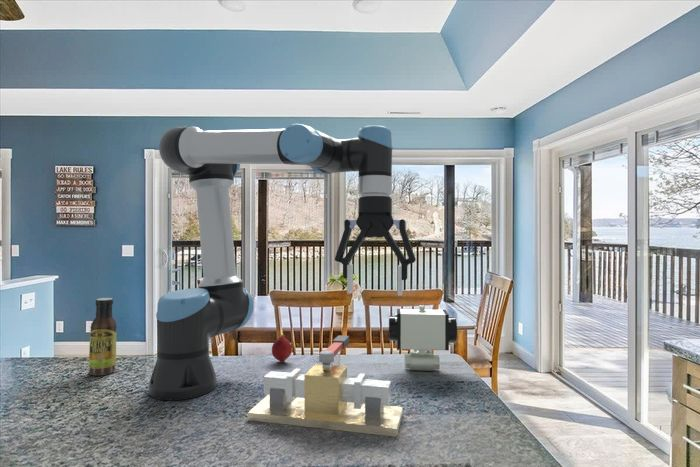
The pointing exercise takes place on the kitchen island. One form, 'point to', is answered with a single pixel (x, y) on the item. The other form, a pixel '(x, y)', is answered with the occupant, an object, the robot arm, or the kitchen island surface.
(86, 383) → the kitchen island surface
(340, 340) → the lever
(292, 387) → the valve pipe
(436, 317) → the ball valve
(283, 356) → the onion
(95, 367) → the sauce bottle
